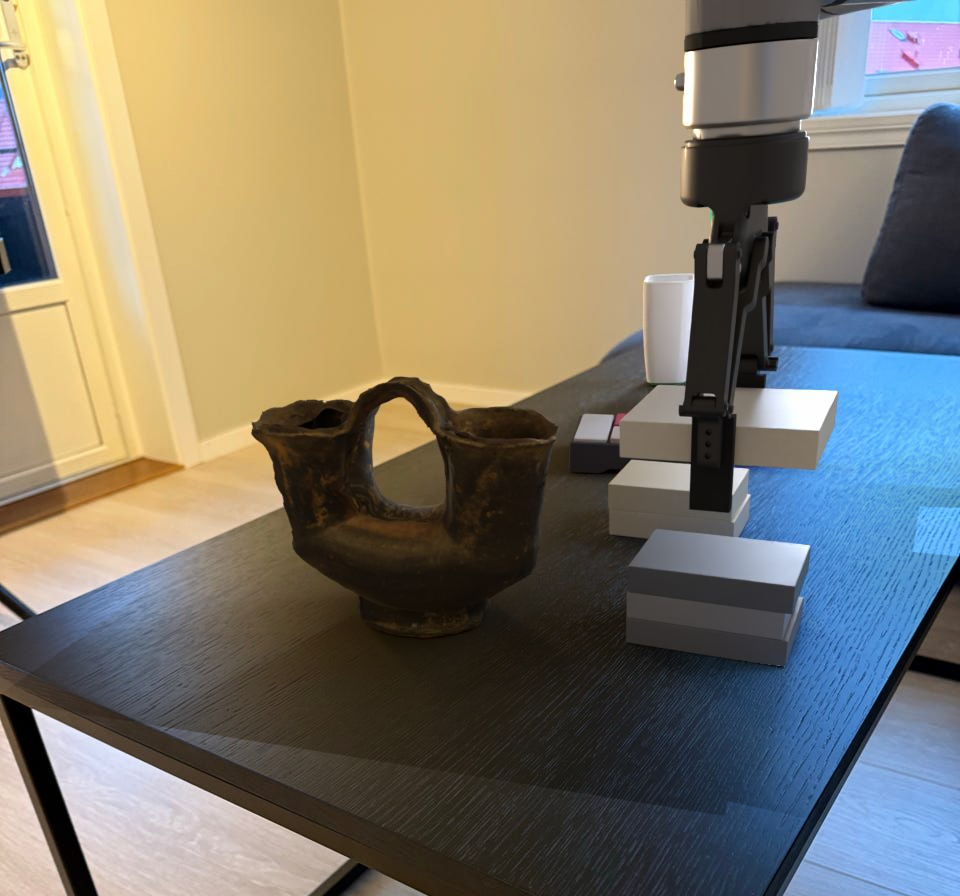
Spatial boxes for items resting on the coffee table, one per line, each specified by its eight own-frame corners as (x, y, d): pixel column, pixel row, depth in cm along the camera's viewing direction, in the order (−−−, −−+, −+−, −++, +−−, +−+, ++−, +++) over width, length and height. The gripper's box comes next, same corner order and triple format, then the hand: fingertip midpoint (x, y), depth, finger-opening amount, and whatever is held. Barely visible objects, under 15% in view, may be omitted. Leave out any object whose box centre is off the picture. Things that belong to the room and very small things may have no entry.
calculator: (705, 441, 102) (569, 435, 105) (701, 479, 104) (568, 472, 107) (705, 413, 112) (580, 408, 114) (701, 448, 114) (579, 442, 117)
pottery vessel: (262, 627, 79) (213, 393, 69) (321, 573, 88) (285, 359, 78) (545, 658, 71) (535, 400, 61) (579, 596, 80) (575, 361, 70)
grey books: (802, 621, 73) (811, 544, 70) (786, 668, 68) (795, 586, 64) (652, 601, 78) (654, 528, 75) (625, 642, 72) (626, 565, 69)
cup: (692, 375, 142) (697, 272, 135) (691, 388, 136) (695, 280, 129) (644, 376, 144) (646, 274, 137) (640, 388, 138) (642, 282, 130)
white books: (749, 519, 92) (752, 468, 90) (732, 548, 86) (736, 495, 84) (630, 507, 97) (631, 459, 94) (608, 534, 91) (607, 483, 89)
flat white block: (834, 426, 67) (838, 390, 65) (815, 470, 59) (819, 430, 58) (657, 418, 72) (657, 384, 71) (619, 457, 64) (619, 420, 63)
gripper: (723, 127, 66) (710, 434, 77) (629, 146, 49) (630, 537, 60) (834, 118, 63) (804, 439, 74) (776, 135, 46) (748, 550, 57)
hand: (726, 483), depth 67 cm, fingers closed on flat white block, 9 cm apart
